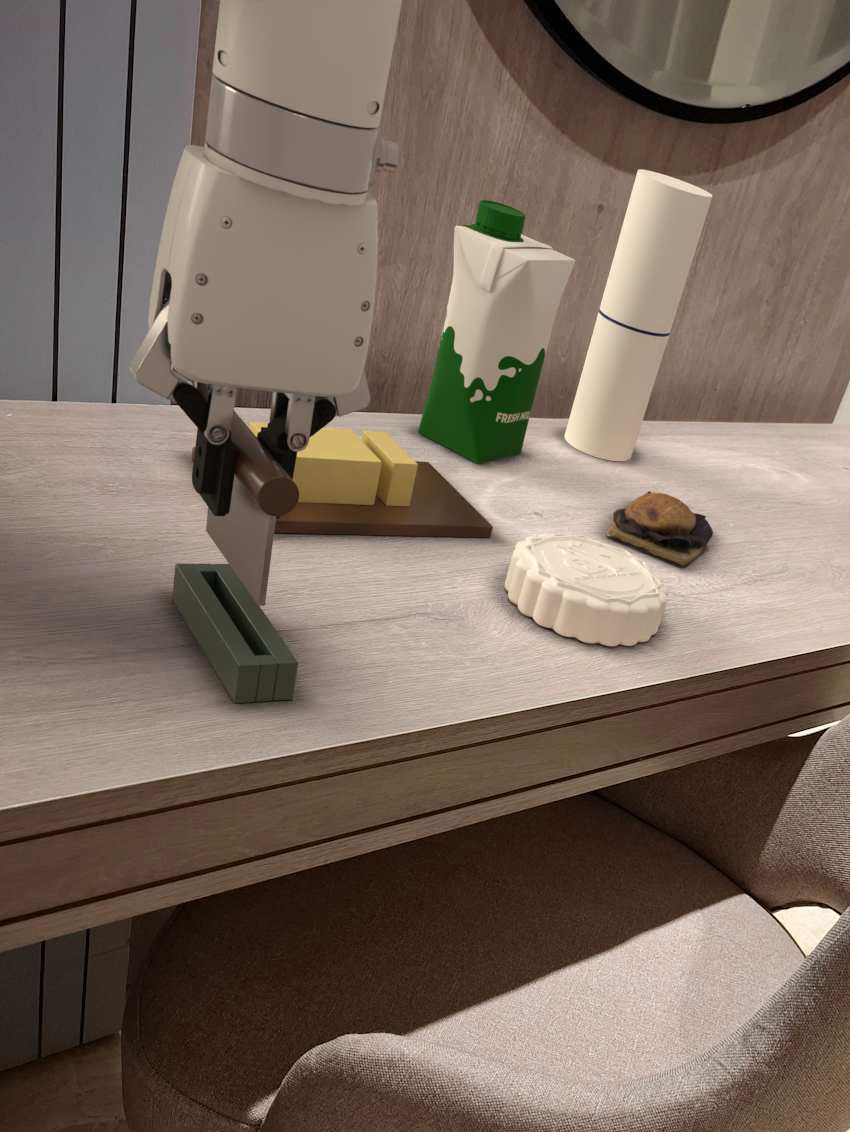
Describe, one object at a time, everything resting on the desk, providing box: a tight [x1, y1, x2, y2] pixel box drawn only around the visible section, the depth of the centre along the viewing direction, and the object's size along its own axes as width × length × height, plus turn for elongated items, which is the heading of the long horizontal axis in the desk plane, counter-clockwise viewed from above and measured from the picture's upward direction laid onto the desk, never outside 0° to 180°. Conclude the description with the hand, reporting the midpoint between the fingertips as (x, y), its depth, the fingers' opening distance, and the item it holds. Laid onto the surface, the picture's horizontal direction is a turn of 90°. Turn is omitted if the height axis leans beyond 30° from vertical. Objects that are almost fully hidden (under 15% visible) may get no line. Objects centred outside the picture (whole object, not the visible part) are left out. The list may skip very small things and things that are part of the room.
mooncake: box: [504, 531, 669, 647], centre depth 88 cm, size 12×12×4 cm
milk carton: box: [417, 199, 577, 465], centre depth 105 cm, size 9×9×20 cm
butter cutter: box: [205, 410, 299, 607], centre depth 65 cm, size 2×10×8 cm, turn 33°
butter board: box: [191, 446, 494, 538], centre depth 92 cm, size 20×12×1 cm, turn 123°
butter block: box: [249, 421, 382, 505], centre depth 89 cm, size 8×6×4 cm
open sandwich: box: [606, 490, 714, 567], centre depth 105 cm, size 11×8×4 cm
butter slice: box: [360, 430, 418, 506], centre depth 92 cm, size 2×6×4 cm, turn 33°
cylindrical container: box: [563, 169, 713, 462], centre depth 114 cm, size 7×7×25 cm
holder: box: [171, 562, 299, 704], centre depth 70 cm, size 3×12×2 cm, turn 33°
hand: (239, 503), depth 65 cm, fingers closed on butter cutter, 2 cm apart
